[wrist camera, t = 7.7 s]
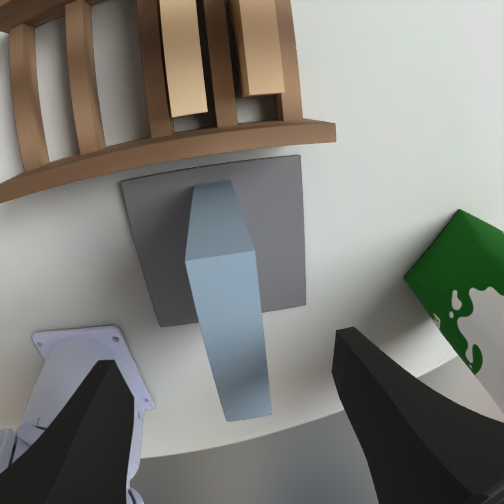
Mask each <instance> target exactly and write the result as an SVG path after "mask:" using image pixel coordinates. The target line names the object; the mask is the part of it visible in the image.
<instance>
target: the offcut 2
mask: <svg viewBox="0 0 504 504" xmlns="http://www.w3.org/2000/svg"><path fill="white" fill-rule="evenodd" d="M229 3H230V12H231V21H232V30H233V39H234V48H235V57H236V66H237V75H238V84H239V93H240V98H246V97H257V96H269V95H274V94H279V93H285V89H284V79H283V69H282V59H281V50H280V41H279V33H278V24H277V16H276V9H275V1H274V0H229Z"/></svg>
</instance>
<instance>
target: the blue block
mask: <svg viewBox="0 0 504 504" xmlns="http://www.w3.org/2000/svg"><path fill="white" fill-rule="evenodd" d="M185 264H186V268H187V273H188V277H189V282H190V286H191V290H192V295H193V299H194V303H195V307H196V312H197V316H198V320H199V324H200V328H201V332H202V336H203V339H204V343H205V347H206V351H207V355H208V359H209V362H210V366H211V370H212V373H213V377H214V380H215V384H216V387H217V391H218V394H219V398H220V401H221V405H222V408H223V411H224V415H225V418H226V421H227V422H230V421H237V420H244V419H250V418H256V417H262V416H268V415H272V409H271V400H270V390H269V380H268V370H267V361H266V351H265V341H264V332H263V322H262V312H261V303H260V293H259V284H258V274H257V265H256V255H255V249H254V246H253V243H252V240H251V237H250V234H249V232H248V229H247V226H246V223H245V220H244V217H243V214H242V211H241V208H240V205H239V202H238V200H237V197H236V194H235V191H234V188H233V185H232V182H231V180H225V181H218V182H212V183H205V184H198V185H194V190H193V198H192V205H191V213H190V221H189V229H188V238H187V246H186V256H185Z"/></svg>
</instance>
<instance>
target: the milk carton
mask: <svg viewBox="0 0 504 504" xmlns="http://www.w3.org/2000/svg"><path fill="white" fill-rule="evenodd" d="M404 279H405V280H406V282H407V283H408V284H409V286H410V287H411V289H412V290H413V292H414V293H415V294H416V296H417V297H418V299H419V300H420V302H421V303H422V305H423V306H424V308H425V309H426V311H427V312H428V314H429V315H430V317H431V318H432V320H433V321H434V323H435V324H436V326H437V327H438V329H439V330H440V332H441V333H442V334H443V336H444V337H445V338H446V340H447V341H448V342H449V343H450V345H451V346H452V347H453V349H454V350H455V351H456V353H457V354H458V355H459V356H460V357H461V359H462V360H463V361H464V362H465V364H466V365H467V366H468V367H469V368H470V370H471V371H472V372H473V374H474V375H475V376H476V378H477V379H478V380H479V381H480V383H481V384H482V385H483V387H484V388H485V389H486V390H487V392H488V393H489V394H490V396H491V397H492V398H493V400H494V401H495V402H496V403H497V405H498V406H499V408H500V409H501V411H502V412H503V413H504V232H503V231H501V230H499V229H497V228H496V227H494V226H492V225H490V224H488V223H486V222H484V221H482V220H480V219H478V218H477V217H475V216H473V215H471V214H469V213H467V212H465V211H463V210H461V209H459V210H458V212H457V213H456V214H455V216H454V217H453V218H452V219H451V221H450V222H449V223H448V225H447V226H446V227H445V229H444V230H443V231H442V232H441V234H440V235H439V236H438V237H437V239H436V240H435V241H434V242H433V244H432V245H431V246H430V247H429V248H428V250H427V251H426V252H425V253H424V254H423V256H422V257H421V258H420V259H419V260H418V262H417V263H416V264H415V265H414V266H413V267H412V268H411V270H410V271H409V272H408V273H407V274H406V275H405V276H404Z"/></svg>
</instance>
